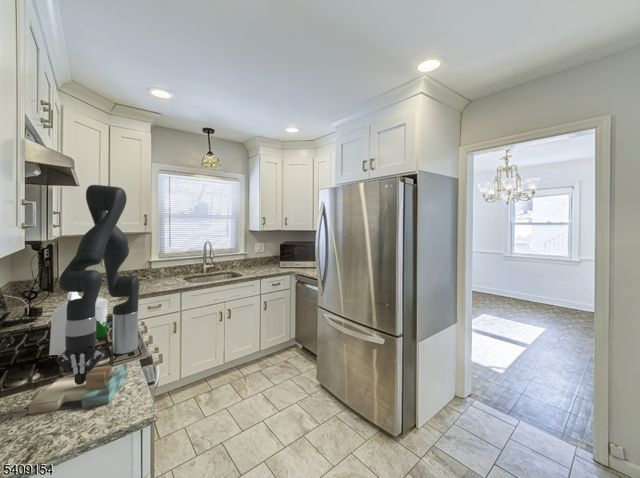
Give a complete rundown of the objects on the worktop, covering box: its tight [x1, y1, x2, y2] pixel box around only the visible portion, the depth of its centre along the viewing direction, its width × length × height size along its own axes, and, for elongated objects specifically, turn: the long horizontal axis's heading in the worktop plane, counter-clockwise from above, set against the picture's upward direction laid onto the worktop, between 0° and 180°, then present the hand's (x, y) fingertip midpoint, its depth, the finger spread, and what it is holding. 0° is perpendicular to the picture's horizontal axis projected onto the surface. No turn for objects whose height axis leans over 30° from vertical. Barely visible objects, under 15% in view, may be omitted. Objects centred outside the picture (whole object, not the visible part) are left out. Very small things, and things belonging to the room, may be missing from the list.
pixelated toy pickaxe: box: [28, 363, 128, 415], centre depth 89 cm, size 14×20×6 cm
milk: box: [48, 292, 82, 357], centre depth 120 cm, size 12×12×26 cm
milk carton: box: [95, 297, 109, 339], centre depth 135 cm, size 9×9×20 cm
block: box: [86, 365, 113, 391], centre depth 90 cm, size 5×5×5 cm
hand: (80, 383), depth 89 cm, fingers closed
